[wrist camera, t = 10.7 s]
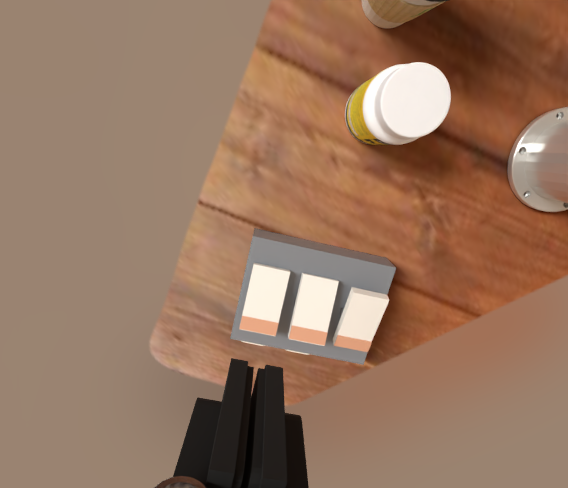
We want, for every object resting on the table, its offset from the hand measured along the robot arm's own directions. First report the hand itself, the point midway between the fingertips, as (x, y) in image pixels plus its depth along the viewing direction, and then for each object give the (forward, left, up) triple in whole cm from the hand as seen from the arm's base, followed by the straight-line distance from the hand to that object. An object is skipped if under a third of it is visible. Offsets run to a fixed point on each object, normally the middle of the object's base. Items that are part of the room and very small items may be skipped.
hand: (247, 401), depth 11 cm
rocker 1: (-2, +10, -30) cm, 32 cm away
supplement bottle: (-10, -14, -35) cm, 39 cm away
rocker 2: (-8, +10, -30) cm, 33 cm away
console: (-8, +10, -35) cm, 37 cm away
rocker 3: (-14, +10, -30) cm, 35 cm away
